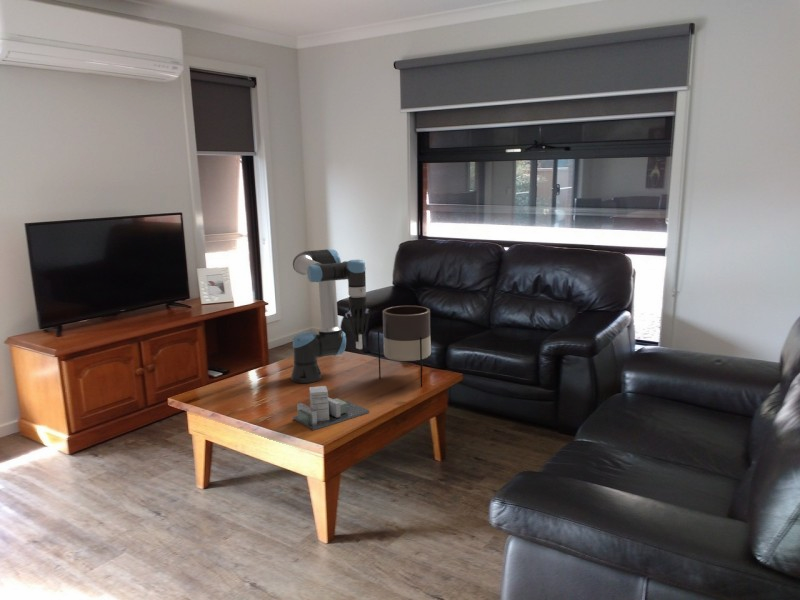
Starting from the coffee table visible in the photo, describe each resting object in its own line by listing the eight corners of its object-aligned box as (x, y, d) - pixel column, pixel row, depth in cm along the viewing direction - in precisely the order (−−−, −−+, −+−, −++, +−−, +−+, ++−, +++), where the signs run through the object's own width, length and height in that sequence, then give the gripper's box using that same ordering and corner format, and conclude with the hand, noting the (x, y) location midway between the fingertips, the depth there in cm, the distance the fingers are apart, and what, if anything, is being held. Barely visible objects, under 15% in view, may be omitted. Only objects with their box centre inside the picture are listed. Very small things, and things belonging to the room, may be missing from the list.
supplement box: (310, 415, 255) (308, 386, 252) (328, 413, 256) (326, 385, 254) (311, 422, 248) (309, 392, 245) (329, 420, 249) (328, 391, 247)
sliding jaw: (321, 409, 260) (320, 396, 259) (334, 405, 264) (334, 392, 263) (336, 417, 251) (336, 403, 250) (350, 413, 255) (349, 399, 254)
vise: (293, 419, 254) (292, 403, 253) (348, 402, 271) (347, 388, 270) (313, 430, 242) (312, 413, 240) (369, 412, 259) (368, 397, 258)
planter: (446, 380, 298) (445, 311, 291) (404, 391, 285) (403, 318, 278) (415, 368, 319) (414, 303, 313) (375, 377, 306) (373, 309, 299)
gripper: (349, 299, 253) (351, 353, 258) (374, 294, 261) (376, 347, 266) (339, 296, 259) (342, 349, 264) (364, 292, 267) (366, 344, 272)
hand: (359, 348), depth 265 cm, fingers closed
